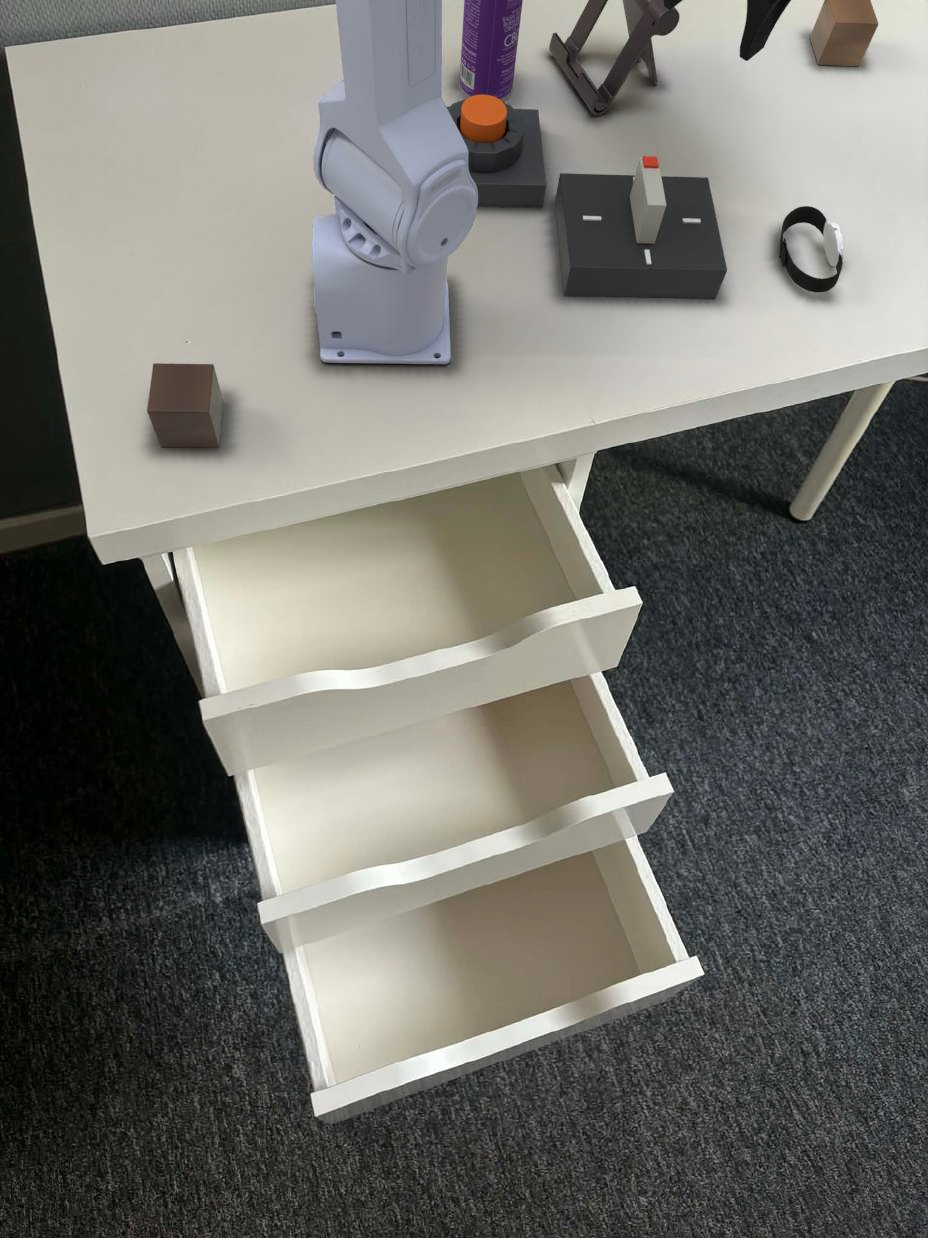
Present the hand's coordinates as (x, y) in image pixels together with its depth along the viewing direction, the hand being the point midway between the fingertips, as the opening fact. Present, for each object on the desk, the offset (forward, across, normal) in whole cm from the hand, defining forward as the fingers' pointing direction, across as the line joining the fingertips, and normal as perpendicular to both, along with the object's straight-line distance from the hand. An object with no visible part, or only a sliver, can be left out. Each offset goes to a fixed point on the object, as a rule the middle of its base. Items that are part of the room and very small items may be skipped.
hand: (713, 25), depth 72 cm
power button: (+4, +9, +16) cm, 19 cm away
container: (+9, +16, +9) cm, 21 cm away
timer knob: (+5, -6, +13) cm, 15 cm away
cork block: (+14, -1, -20) cm, 24 cm away
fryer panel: (+8, -6, +14) cm, 17 cm away
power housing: (+8, +9, +16) cm, 20 cm away
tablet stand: (+11, +10, 0) cm, 15 cm away
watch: (+10, -16, +4) cm, 19 cm away
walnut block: (+2, +3, +49) cm, 50 cm away
